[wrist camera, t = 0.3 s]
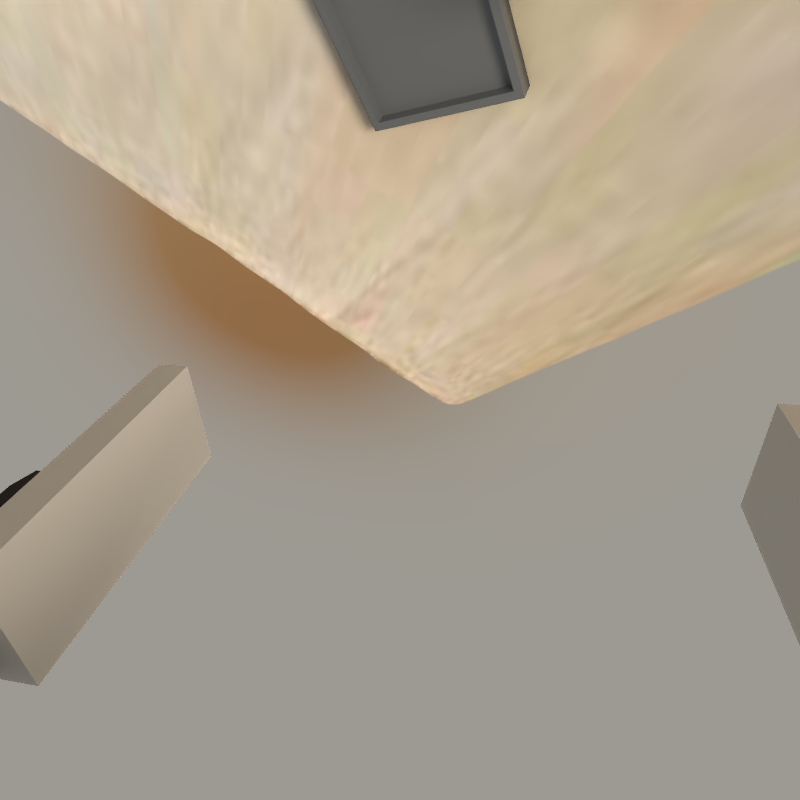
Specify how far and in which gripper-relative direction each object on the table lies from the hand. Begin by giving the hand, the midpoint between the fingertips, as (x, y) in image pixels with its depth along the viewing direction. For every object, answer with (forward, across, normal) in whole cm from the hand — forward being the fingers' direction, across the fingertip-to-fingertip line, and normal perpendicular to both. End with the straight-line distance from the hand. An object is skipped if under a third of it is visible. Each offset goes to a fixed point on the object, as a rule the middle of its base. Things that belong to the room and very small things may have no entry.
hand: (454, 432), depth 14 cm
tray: (+35, -6, +8) cm, 37 cm away
